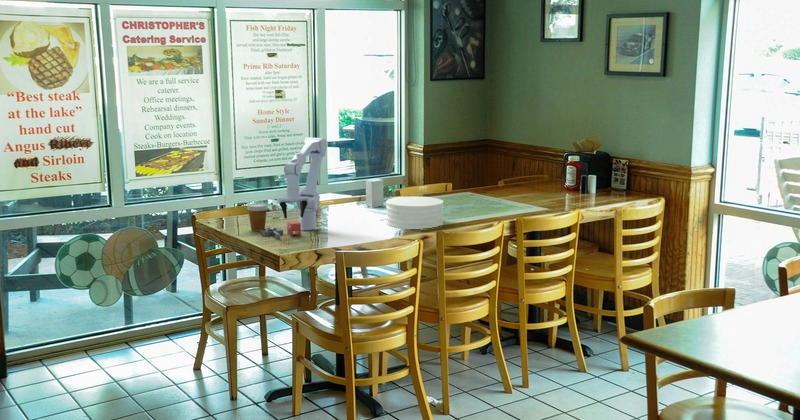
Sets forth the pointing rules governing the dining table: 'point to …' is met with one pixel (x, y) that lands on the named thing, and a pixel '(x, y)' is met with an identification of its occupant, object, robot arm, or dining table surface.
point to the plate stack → (414, 212)
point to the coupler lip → (272, 232)
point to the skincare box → (374, 193)
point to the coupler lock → (293, 228)
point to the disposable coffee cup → (257, 216)
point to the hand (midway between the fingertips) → (293, 217)
